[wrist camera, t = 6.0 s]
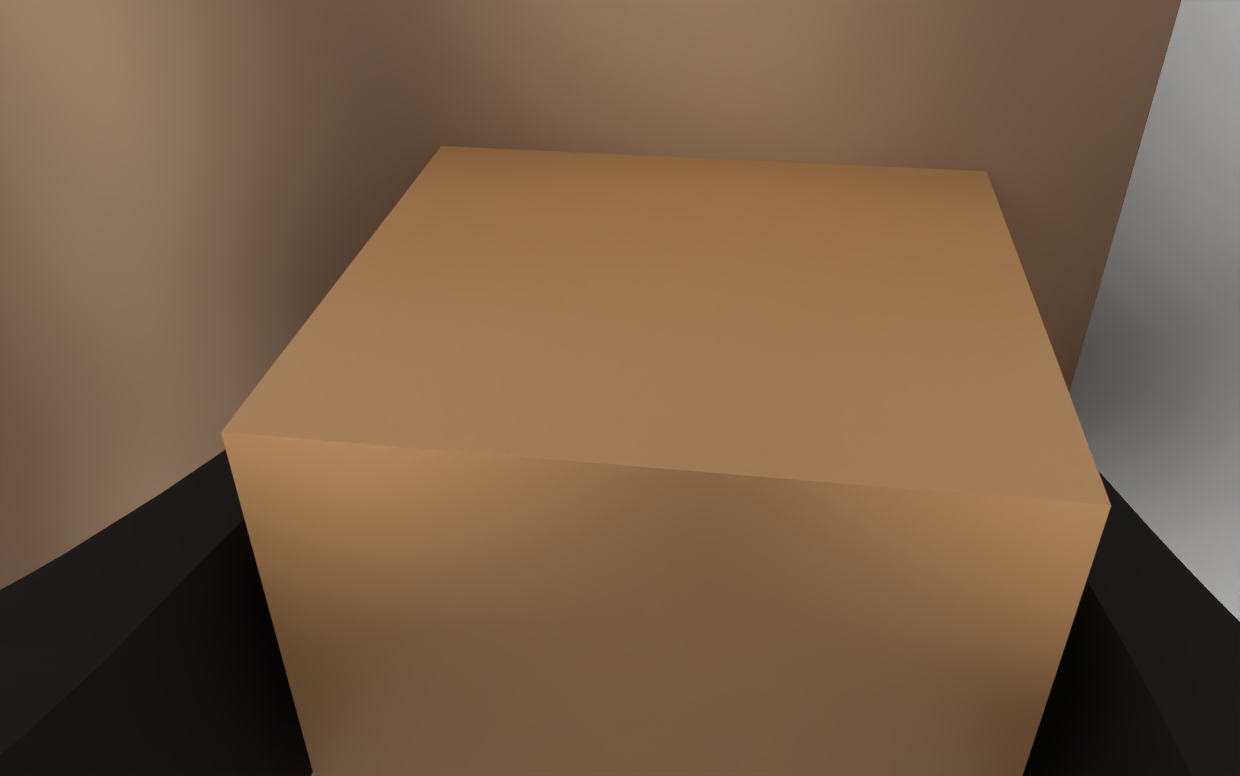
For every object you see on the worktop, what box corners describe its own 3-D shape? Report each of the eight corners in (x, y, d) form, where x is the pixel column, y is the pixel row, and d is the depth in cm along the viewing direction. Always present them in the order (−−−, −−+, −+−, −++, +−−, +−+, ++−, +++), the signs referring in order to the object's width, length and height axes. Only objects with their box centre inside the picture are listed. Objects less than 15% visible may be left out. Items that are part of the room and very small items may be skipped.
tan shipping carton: (484, 539, 14) (349, 904, 10) (441, 145, 11) (220, 432, 7) (906, 580, 13) (952, 987, 9) (986, 170, 10) (1111, 506, 6)
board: (38, 723, 20) (-2, 778, 19) (-345, -89, 12) (-450, -67, 11) (915, 833, 18) (923, 901, 17) (1147, -46, 10) (1185, -16, 9)
